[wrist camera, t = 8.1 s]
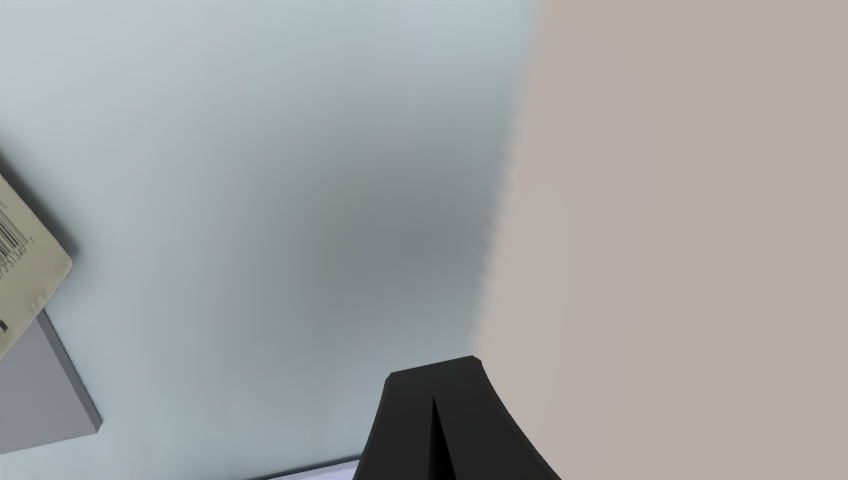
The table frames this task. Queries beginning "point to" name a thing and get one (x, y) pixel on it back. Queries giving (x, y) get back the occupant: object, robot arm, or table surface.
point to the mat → (41, 392)
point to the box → (25, 266)
